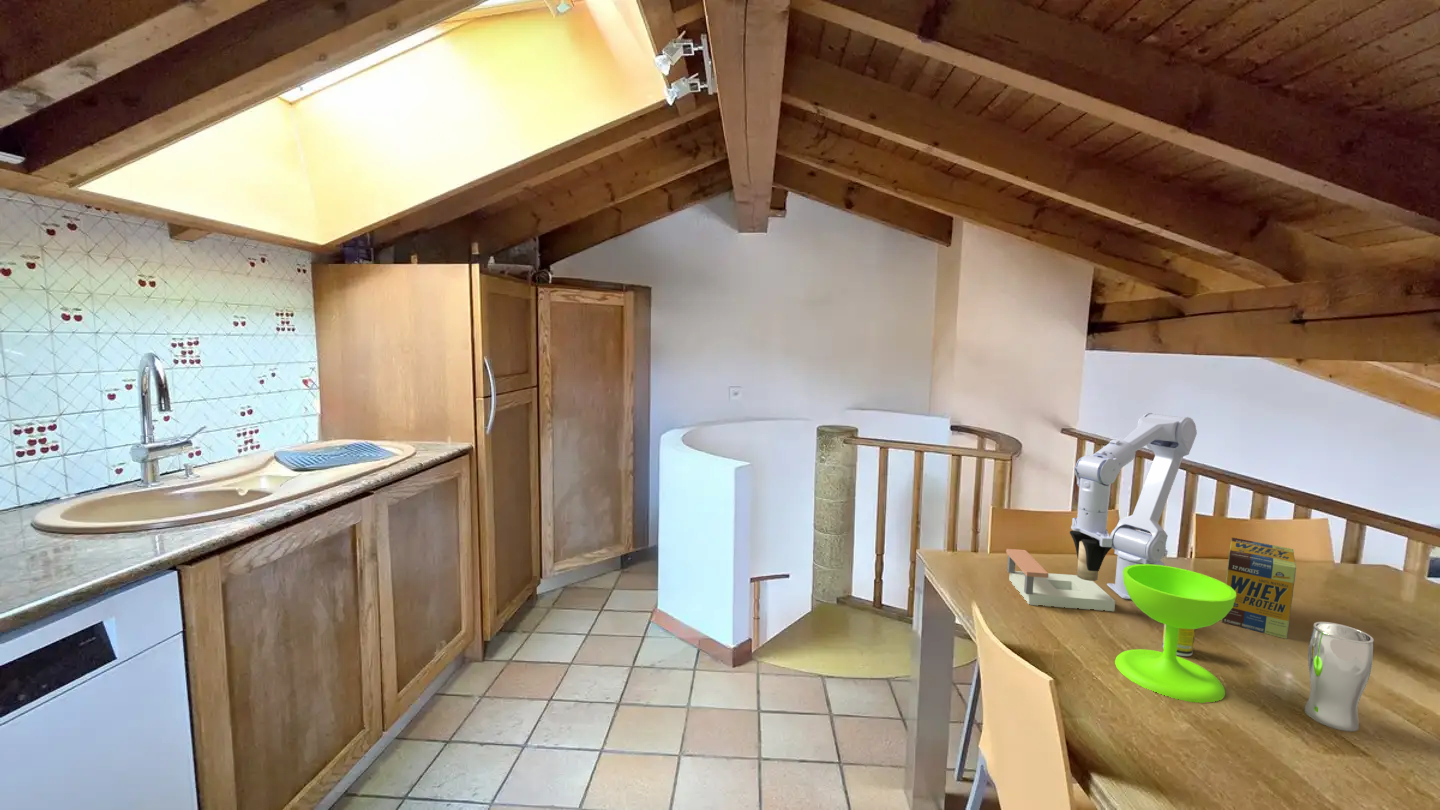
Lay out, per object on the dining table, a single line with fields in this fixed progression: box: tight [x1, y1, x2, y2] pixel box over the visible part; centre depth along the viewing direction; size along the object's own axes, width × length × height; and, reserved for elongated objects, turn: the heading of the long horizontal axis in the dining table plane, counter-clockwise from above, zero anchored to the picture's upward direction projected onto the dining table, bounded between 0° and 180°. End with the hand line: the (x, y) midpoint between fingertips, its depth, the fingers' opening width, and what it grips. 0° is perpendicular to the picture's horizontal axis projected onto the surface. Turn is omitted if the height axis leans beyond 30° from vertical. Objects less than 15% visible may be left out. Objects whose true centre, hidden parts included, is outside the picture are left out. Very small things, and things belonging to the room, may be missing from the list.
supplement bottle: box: [1161, 624, 1196, 657], centre depth 114 cm, size 5×5×8 cm
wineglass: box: [1114, 564, 1236, 704], centre depth 105 cm, size 16×16×18 cm
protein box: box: [1221, 537, 1297, 639], centre depth 127 cm, size 10×15×16 cm
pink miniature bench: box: [1005, 548, 1049, 595], centre depth 140 cm, size 4×15×6 cm, turn 170°
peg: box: [1076, 541, 1099, 582], centre depth 132 cm, size 4×4×8 cm
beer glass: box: [1304, 621, 1374, 732], centre depth 93 cm, size 7×7×15 cm
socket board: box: [1008, 570, 1116, 612], centre depth 139 cm, size 18×14×2 cm
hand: (1088, 566), depth 133 cm, fingers closed on peg, 4 cm apart
